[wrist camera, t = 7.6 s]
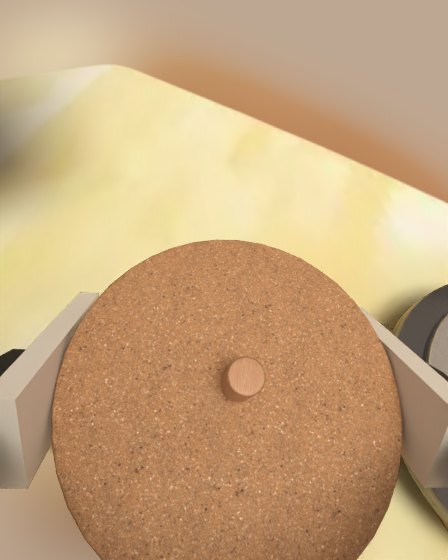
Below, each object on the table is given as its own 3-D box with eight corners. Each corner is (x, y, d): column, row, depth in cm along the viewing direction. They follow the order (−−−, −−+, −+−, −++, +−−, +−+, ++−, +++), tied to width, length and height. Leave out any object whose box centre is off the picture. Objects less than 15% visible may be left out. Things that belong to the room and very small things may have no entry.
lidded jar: (72, 509, 14) (-83, 612, 6) (142, 292, 19) (111, 179, 11) (308, 555, 15) (479, 716, 6) (319, 330, 19) (424, 248, 11)
